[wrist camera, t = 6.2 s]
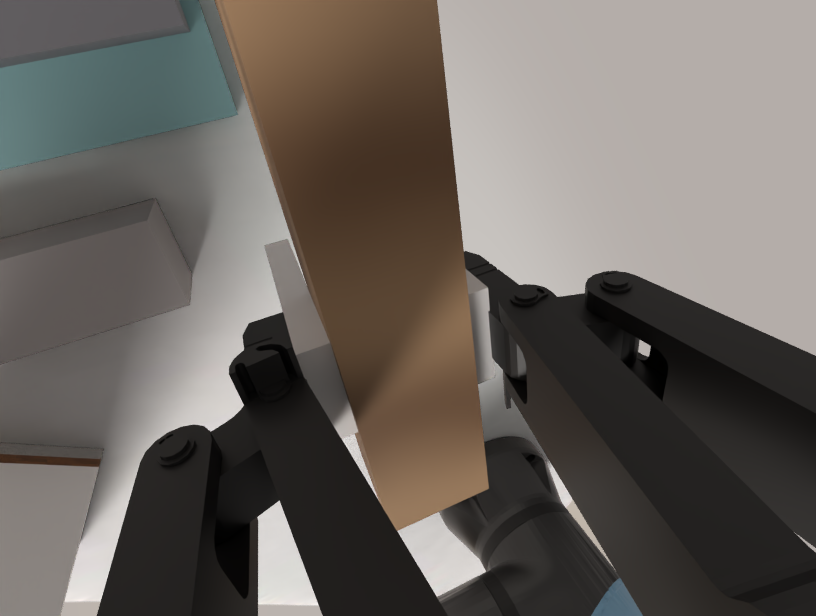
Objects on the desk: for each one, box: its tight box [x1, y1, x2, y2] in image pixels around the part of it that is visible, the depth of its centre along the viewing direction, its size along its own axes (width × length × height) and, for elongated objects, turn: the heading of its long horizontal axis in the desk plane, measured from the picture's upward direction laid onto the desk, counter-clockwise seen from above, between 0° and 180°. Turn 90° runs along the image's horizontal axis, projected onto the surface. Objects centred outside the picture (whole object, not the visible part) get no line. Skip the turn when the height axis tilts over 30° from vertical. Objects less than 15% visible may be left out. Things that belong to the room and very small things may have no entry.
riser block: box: [0, 198, 192, 365], centre depth 29 cm, size 6×16×5 cm, turn 99°
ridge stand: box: [0, 0, 238, 170], centre depth 22 cm, size 12×16×10 cm
